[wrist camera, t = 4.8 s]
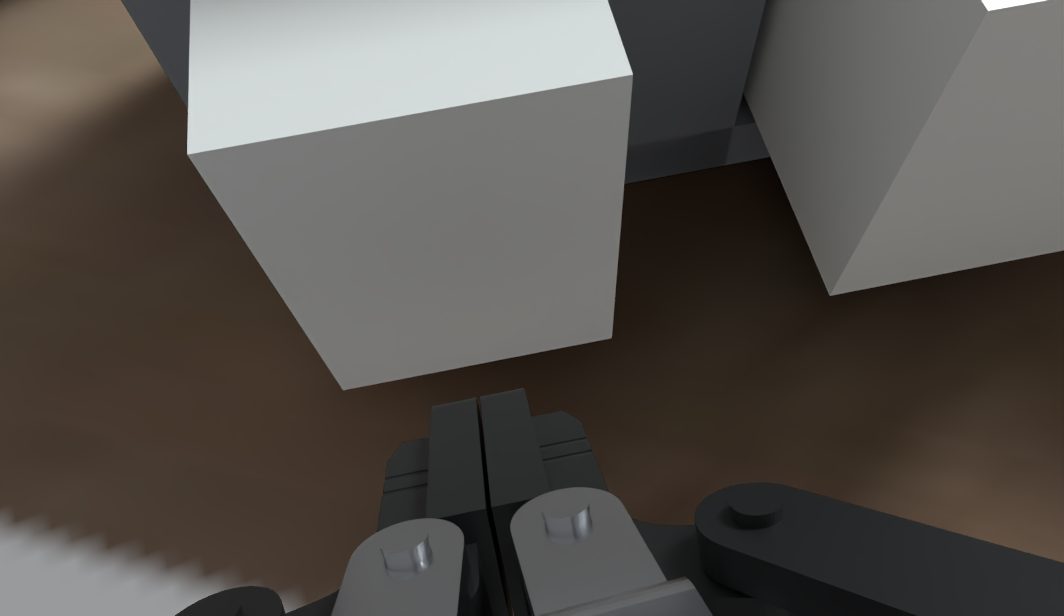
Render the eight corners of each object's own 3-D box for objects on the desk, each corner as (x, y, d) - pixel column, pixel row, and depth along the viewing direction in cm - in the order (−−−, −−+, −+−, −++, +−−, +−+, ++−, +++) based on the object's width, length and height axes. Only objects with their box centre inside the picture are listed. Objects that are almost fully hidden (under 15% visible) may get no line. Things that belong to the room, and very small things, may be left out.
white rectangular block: (611, 338, 18) (633, 74, 11) (343, 390, 18) (187, 154, 11) (534, 50, 22) (514, -272, 15) (318, 89, 22) (195, -221, 15)
